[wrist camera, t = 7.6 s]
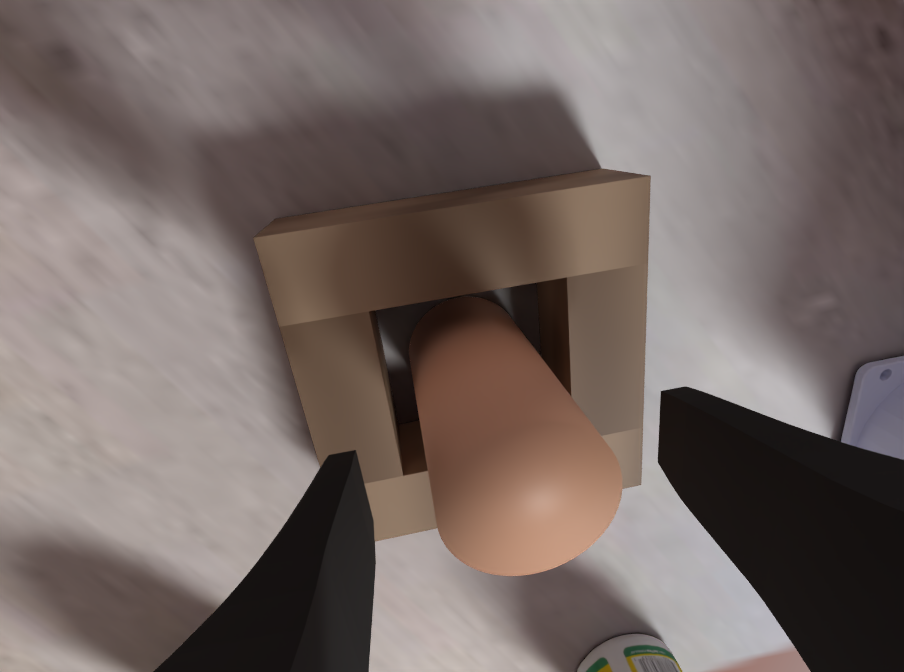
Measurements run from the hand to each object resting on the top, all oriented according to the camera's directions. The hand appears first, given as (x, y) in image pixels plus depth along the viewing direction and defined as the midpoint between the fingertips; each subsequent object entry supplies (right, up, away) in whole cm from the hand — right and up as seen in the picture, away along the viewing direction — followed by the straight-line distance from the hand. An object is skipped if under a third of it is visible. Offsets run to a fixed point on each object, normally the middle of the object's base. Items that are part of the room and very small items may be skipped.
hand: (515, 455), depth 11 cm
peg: (-1, +2, +6) cm, 7 cm away
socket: (-1, +2, +6) cm, 7 cm away
